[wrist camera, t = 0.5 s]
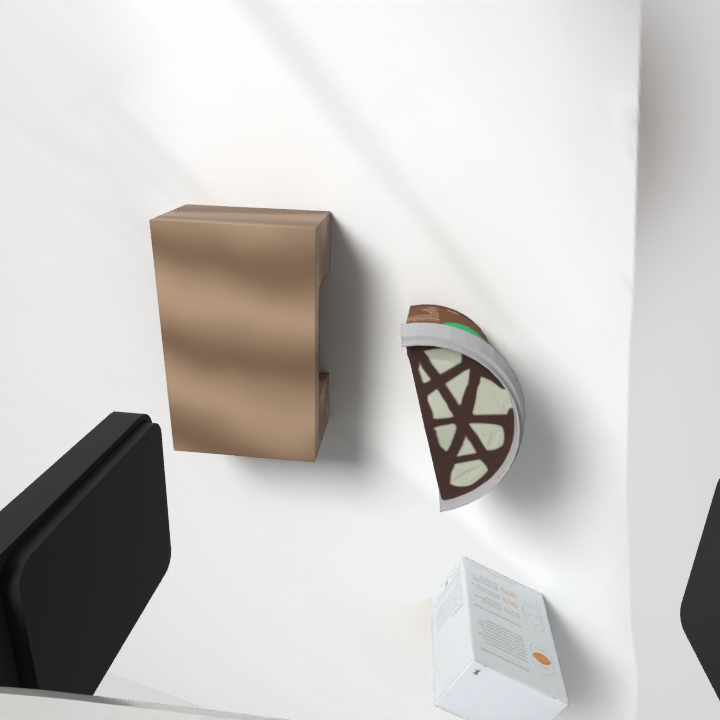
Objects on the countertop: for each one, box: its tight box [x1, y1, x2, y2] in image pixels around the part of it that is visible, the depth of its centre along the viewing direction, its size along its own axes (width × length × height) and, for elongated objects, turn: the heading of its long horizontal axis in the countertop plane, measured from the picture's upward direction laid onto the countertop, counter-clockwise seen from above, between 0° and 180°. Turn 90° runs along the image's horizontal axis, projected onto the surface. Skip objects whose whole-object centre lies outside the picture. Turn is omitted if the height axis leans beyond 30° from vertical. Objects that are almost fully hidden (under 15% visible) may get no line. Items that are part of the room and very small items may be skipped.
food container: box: [401, 304, 525, 512], centre depth 39 cm, size 12×6×10 cm, turn 14°
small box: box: [431, 557, 569, 720], centre depth 47 cm, size 8×6×10 cm
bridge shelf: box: [150, 205, 330, 462], centre depth 41 cm, size 16×10×6 cm, turn 178°
